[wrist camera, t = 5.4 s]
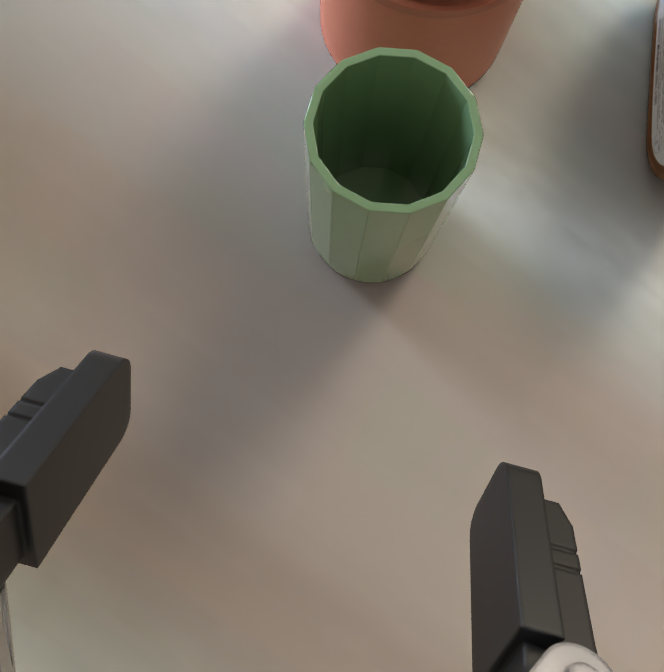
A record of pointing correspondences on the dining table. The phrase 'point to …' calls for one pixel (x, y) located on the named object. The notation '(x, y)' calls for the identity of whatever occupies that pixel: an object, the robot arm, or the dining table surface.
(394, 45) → the cup stack
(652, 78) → the tin
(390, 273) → the green cup
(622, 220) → the dining table surface
